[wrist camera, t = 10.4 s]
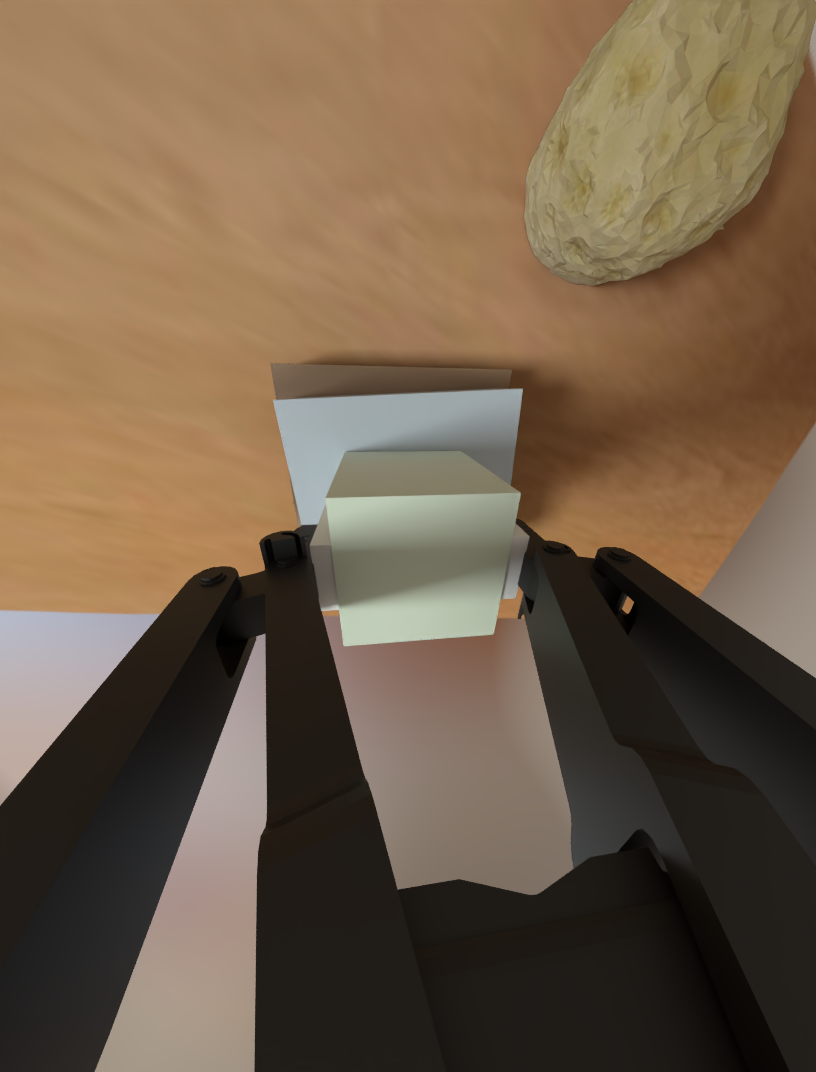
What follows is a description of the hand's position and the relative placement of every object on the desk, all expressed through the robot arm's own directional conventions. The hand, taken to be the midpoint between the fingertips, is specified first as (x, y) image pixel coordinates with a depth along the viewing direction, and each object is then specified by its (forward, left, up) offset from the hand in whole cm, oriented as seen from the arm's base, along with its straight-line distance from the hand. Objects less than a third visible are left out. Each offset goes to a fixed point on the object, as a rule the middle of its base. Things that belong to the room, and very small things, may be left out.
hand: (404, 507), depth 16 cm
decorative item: (-16, +12, -8) cm, 22 cm away
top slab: (0, 0, -4) cm, 5 cm away
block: (0, 0, 0) cm, 0 cm away
